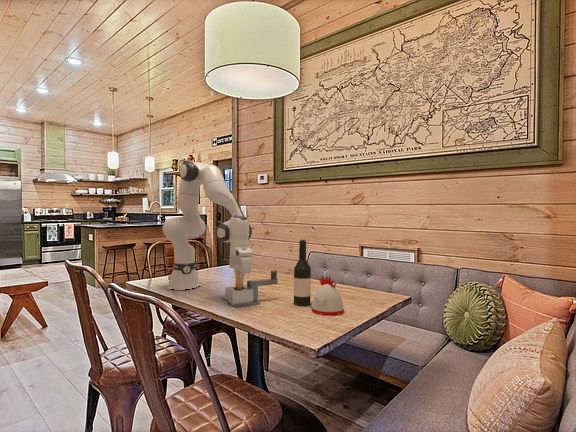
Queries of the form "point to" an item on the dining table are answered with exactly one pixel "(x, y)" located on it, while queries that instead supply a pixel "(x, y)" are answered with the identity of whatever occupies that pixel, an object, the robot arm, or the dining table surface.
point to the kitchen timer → (327, 299)
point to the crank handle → (267, 280)
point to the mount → (242, 295)
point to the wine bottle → (302, 278)
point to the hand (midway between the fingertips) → (239, 280)
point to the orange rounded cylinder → (238, 282)
